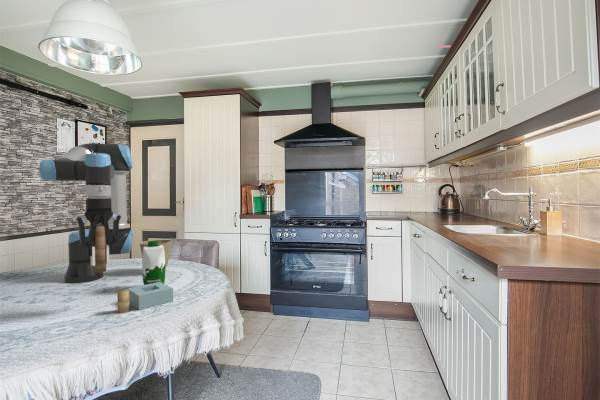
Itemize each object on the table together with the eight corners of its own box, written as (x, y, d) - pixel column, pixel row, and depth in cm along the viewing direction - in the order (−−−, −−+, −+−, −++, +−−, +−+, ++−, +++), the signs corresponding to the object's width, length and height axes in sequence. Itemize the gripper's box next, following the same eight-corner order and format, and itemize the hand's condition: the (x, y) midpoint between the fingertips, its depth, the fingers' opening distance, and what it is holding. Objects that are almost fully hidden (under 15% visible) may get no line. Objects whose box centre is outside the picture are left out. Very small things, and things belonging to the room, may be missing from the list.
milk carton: (164, 284, 137) (164, 239, 137) (166, 290, 129) (165, 242, 129) (142, 287, 133) (141, 241, 133) (142, 293, 125) (141, 244, 125)
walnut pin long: (93, 271, 108) (92, 226, 108) (104, 269, 111) (103, 225, 110) (95, 273, 106) (94, 227, 105) (107, 271, 108) (106, 226, 108)
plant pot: (162, 267, 168) (161, 238, 167) (178, 271, 159) (177, 241, 159) (134, 273, 156) (133, 242, 155) (149, 278, 147) (149, 245, 146)
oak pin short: (116, 311, 106) (116, 291, 106) (127, 308, 109) (127, 288, 109) (119, 314, 104) (119, 293, 104) (131, 311, 106) (130, 291, 106)
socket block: (127, 301, 115) (127, 288, 115) (160, 294, 124) (160, 281, 124) (139, 310, 107) (138, 295, 107) (173, 301, 116) (173, 288, 116)
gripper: (71, 198, 99) (73, 270, 100) (128, 197, 111) (129, 261, 112) (67, 197, 104) (68, 266, 105) (121, 197, 116) (122, 258, 117)
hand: (100, 263), depth 108 cm, fingers closed on walnut pin long, 3 cm apart
